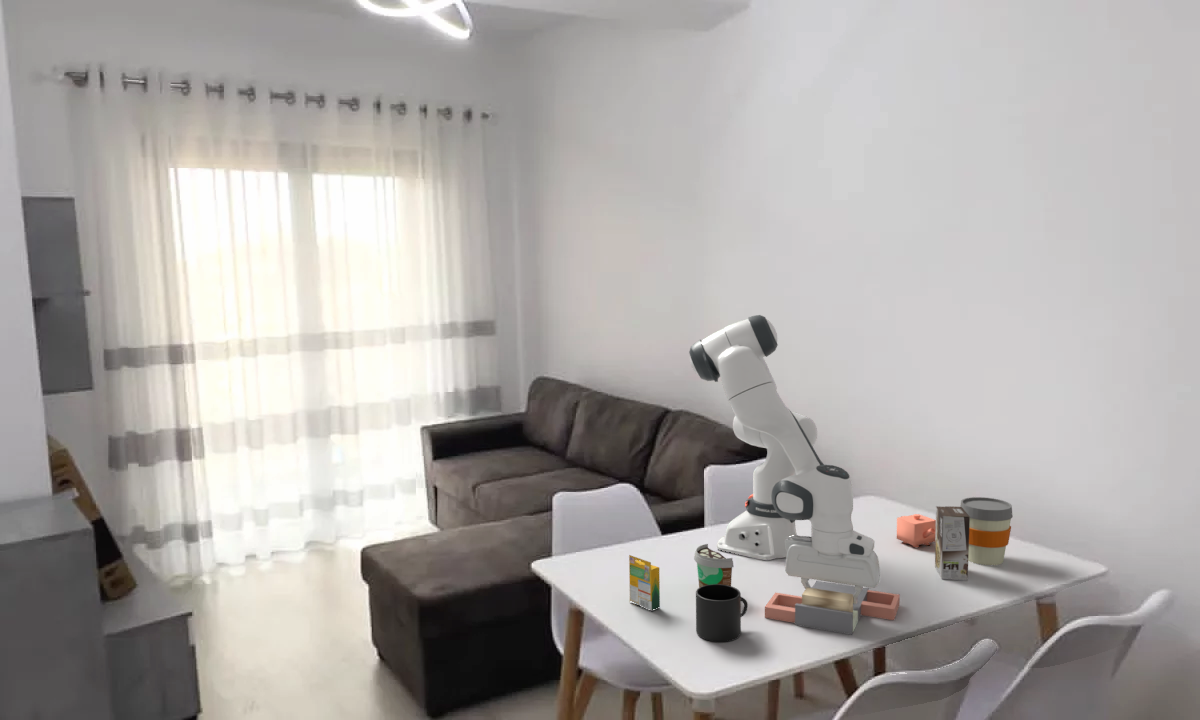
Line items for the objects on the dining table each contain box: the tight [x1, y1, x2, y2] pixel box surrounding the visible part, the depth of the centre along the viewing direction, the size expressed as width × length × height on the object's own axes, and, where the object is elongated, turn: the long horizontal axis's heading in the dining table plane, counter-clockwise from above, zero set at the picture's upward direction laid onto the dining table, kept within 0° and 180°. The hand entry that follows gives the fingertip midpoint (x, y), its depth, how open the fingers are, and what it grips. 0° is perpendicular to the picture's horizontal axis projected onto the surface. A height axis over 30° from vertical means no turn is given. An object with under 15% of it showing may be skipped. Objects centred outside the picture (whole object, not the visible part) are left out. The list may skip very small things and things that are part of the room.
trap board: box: [764, 580, 901, 636], centre depth 189 cm, size 26×21×4 cm
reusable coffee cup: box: [959, 496, 1014, 566], centre depth 219 cm, size 13×13×15 cm
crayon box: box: [628, 554, 661, 610], centre depth 194 cm, size 7×3×12 cm, turn 42°
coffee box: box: [934, 505, 970, 581], centre depth 210 cm, size 9×6×16 cm
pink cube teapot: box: [896, 513, 936, 548], centre depth 232 cm, size 8×12×8 cm, turn 22°
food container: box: [693, 543, 734, 588], centre depth 201 cm, size 12×6×10 cm, turn 23°
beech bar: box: [801, 587, 853, 612], centre depth 183 cm, size 10×4×4 cm, turn 63°
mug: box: [695, 584, 749, 643], centre depth 180 cm, size 9×12×9 cm
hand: (831, 599), depth 187 cm, fingers open, 8 cm apart
